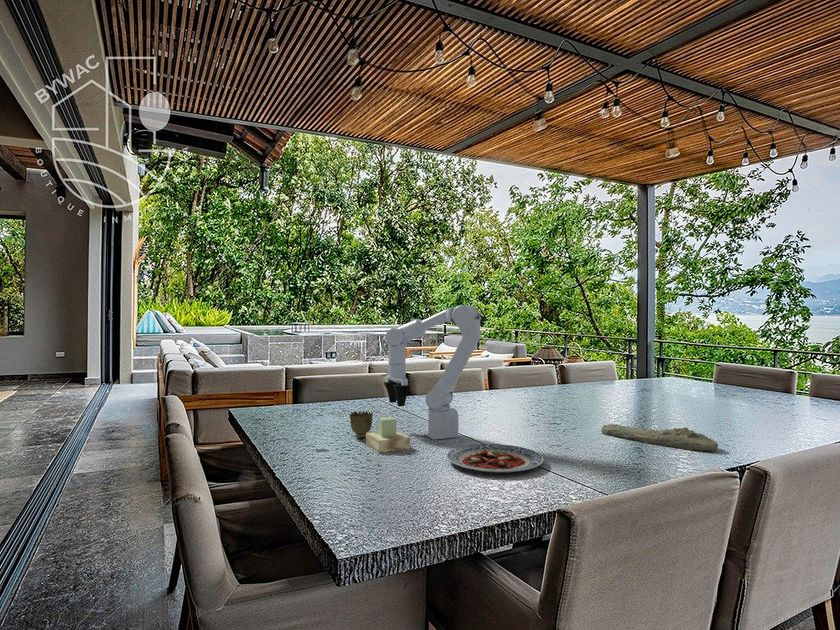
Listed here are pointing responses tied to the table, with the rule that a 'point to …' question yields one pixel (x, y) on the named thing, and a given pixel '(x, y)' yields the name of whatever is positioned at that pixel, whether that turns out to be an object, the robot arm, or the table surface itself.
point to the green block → (386, 426)
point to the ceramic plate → (495, 458)
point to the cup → (361, 423)
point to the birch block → (387, 442)
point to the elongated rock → (663, 437)
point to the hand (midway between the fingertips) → (396, 404)
